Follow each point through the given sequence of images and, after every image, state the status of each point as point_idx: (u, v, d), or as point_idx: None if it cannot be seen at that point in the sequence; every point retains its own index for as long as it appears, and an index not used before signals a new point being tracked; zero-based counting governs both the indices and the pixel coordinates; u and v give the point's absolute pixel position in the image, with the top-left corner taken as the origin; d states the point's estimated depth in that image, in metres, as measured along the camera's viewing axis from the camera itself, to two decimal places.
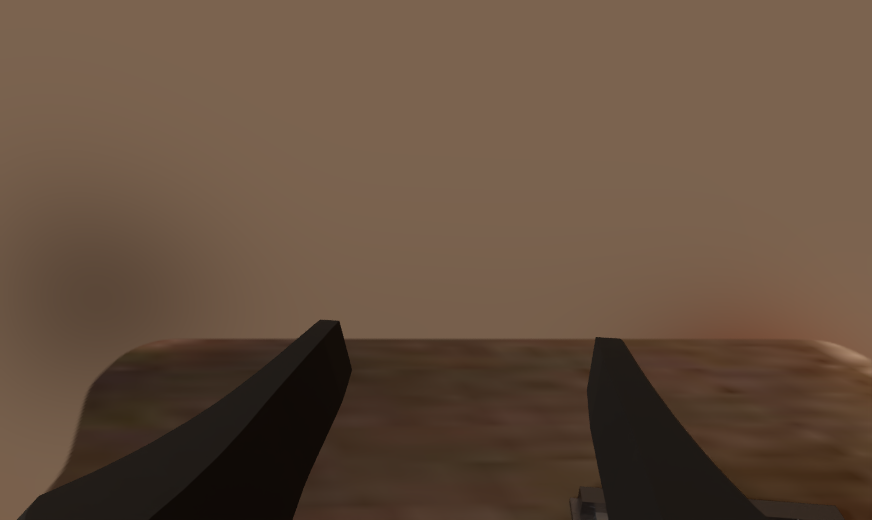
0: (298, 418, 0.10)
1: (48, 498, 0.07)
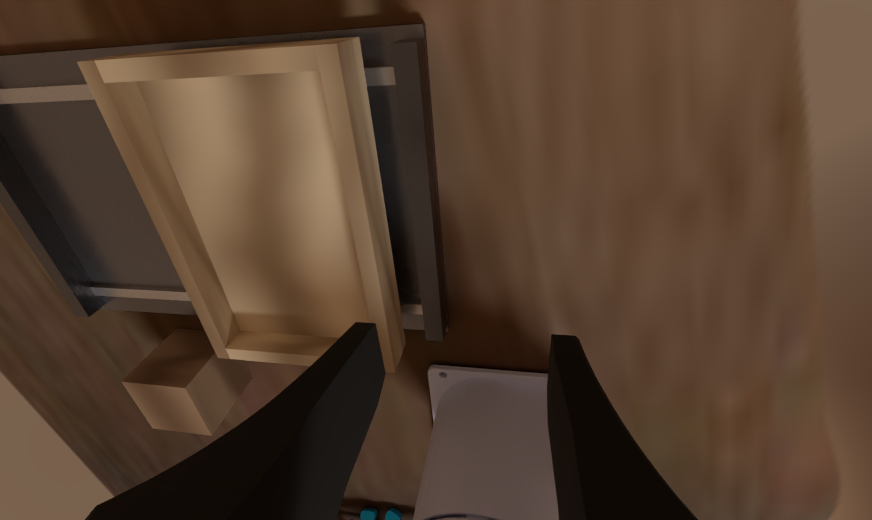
0: (340, 423, 0.10)
1: (107, 508, 0.06)
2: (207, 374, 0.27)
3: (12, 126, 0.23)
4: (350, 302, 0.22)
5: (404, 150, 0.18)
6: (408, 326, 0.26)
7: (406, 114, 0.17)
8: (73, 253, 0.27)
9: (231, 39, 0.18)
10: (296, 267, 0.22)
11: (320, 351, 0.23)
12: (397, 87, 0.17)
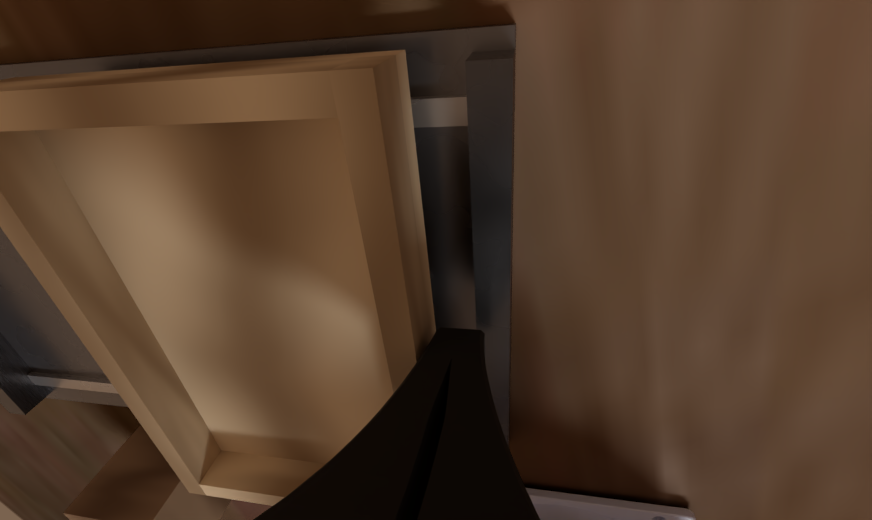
0: (440, 434, 0.10)
1: None
2: (180, 497, 0.20)
3: None
4: None
5: (474, 232, 0.11)
6: None
7: (482, 178, 0.10)
8: None
9: (191, 52, 0.11)
10: (297, 385, 0.15)
11: None
12: (470, 135, 0.10)
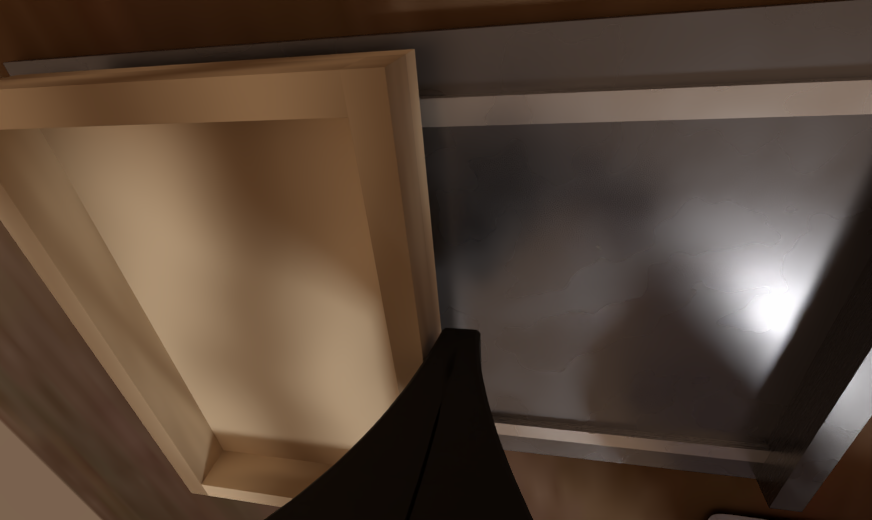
0: None
1: None
2: None
3: None
4: None
5: None
6: (710, 470, 0.17)
7: None
8: None
9: (594, 21, 0.09)
10: (301, 385, 0.15)
11: None
12: None
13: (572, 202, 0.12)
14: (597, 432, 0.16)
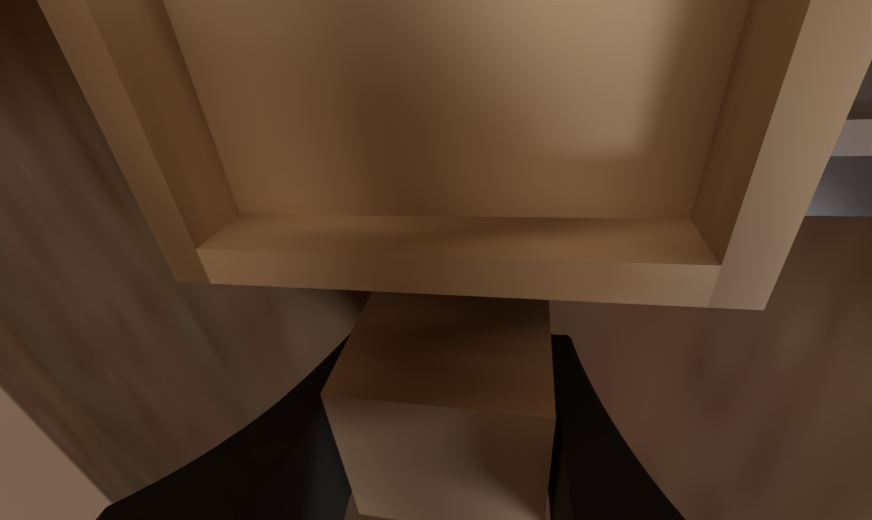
0: None
1: (116, 510, 0.06)
2: None
3: None
4: (615, 67, 0.07)
5: None
6: None
7: None
8: None
9: None
10: None
11: (493, 246, 0.07)
12: None
13: None
14: None
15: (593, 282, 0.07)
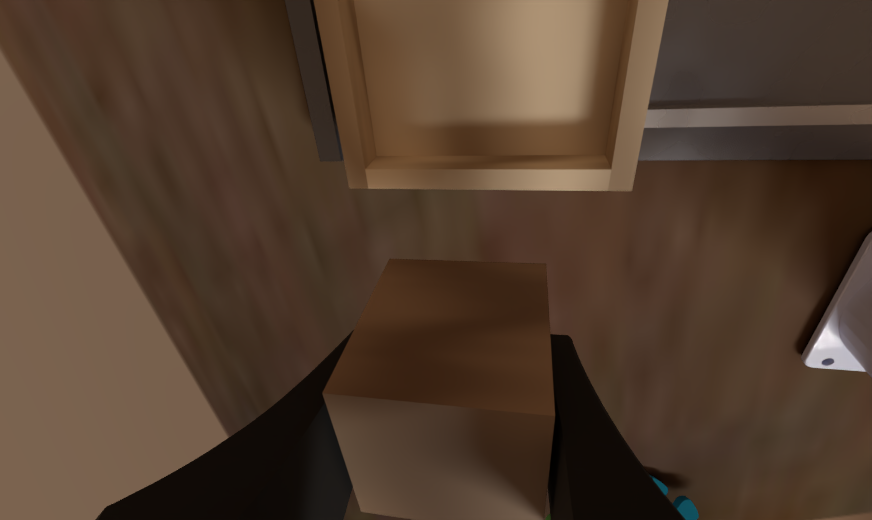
0: None
1: (116, 510, 0.06)
2: None
3: None
4: (567, 83, 0.15)
5: None
6: None
7: None
8: None
9: None
10: (495, 20, 0.14)
11: (512, 165, 0.16)
12: None
13: None
14: (777, 106, 0.16)
15: (557, 180, 0.15)
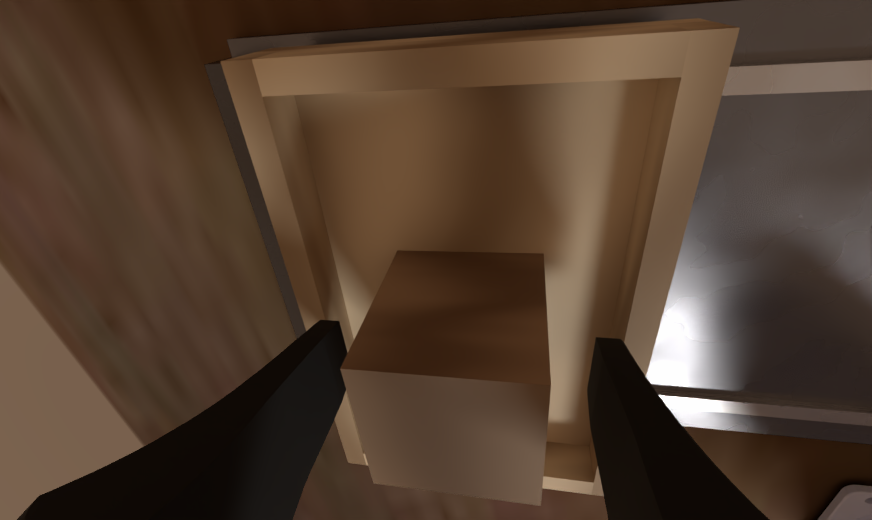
0: (298, 418, 0.10)
1: (48, 499, 0.07)
2: None
3: None
4: (551, 399, 0.16)
5: None
6: (857, 439, 0.17)
7: None
8: None
9: None
10: None
11: None
12: None
13: (785, 171, 0.12)
14: (751, 402, 0.17)
15: (543, 482, 0.16)
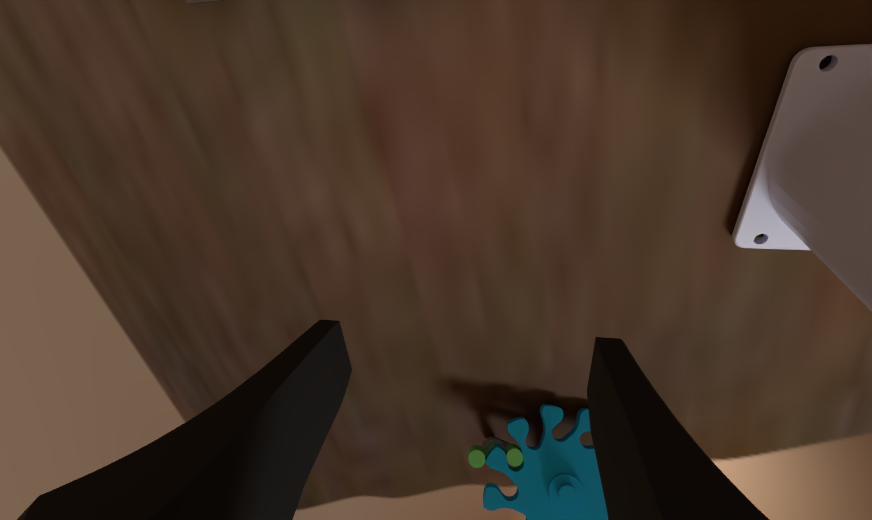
0: (298, 418, 0.10)
1: (48, 498, 0.07)
2: None
3: None
4: None
5: None
6: None
7: None
8: None
9: None
10: None
11: None
12: None
13: None
14: None
15: None
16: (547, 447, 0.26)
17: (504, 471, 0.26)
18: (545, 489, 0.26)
